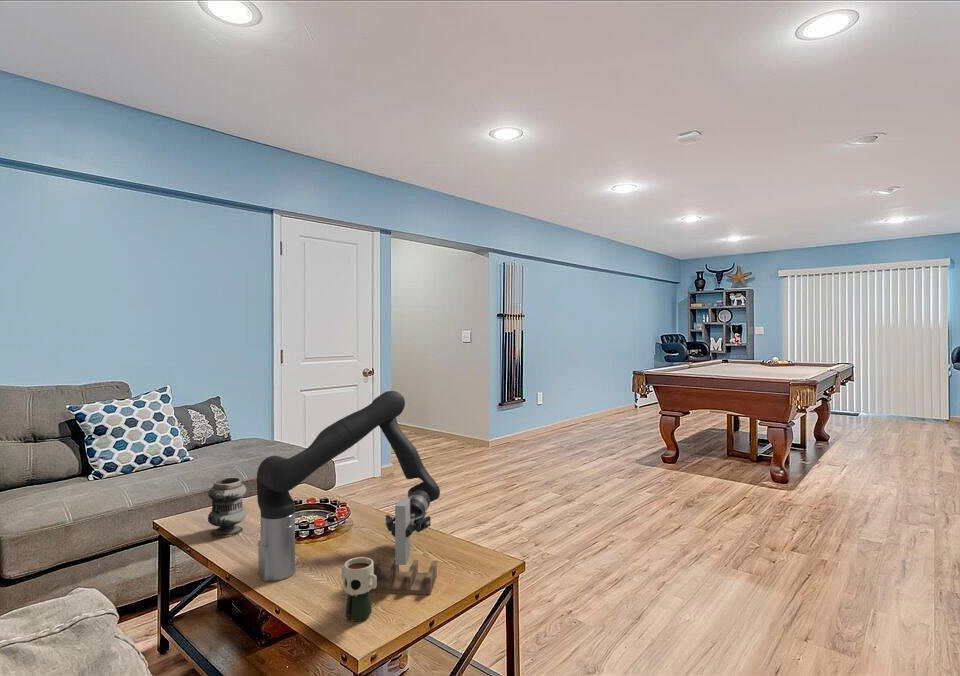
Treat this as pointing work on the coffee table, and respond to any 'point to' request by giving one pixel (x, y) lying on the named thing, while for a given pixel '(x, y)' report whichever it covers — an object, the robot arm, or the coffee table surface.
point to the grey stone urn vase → (227, 506)
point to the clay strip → (402, 531)
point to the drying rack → (404, 579)
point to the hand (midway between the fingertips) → (400, 533)
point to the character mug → (358, 586)
